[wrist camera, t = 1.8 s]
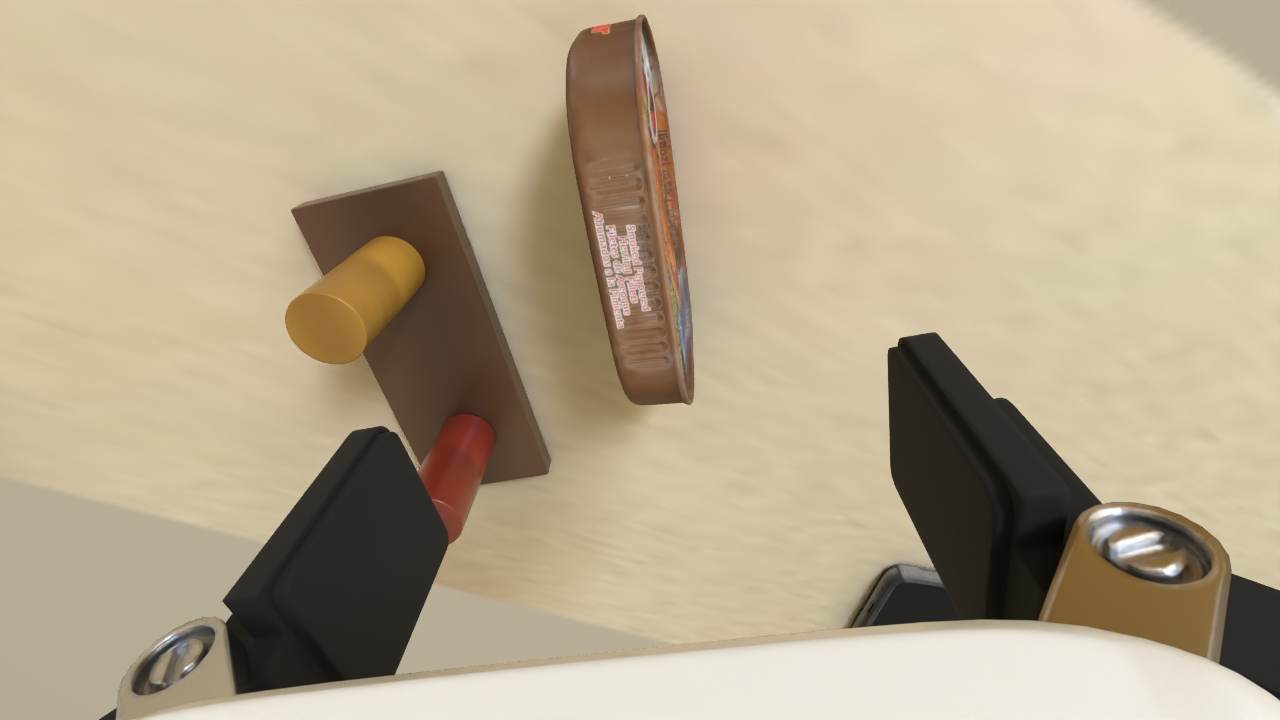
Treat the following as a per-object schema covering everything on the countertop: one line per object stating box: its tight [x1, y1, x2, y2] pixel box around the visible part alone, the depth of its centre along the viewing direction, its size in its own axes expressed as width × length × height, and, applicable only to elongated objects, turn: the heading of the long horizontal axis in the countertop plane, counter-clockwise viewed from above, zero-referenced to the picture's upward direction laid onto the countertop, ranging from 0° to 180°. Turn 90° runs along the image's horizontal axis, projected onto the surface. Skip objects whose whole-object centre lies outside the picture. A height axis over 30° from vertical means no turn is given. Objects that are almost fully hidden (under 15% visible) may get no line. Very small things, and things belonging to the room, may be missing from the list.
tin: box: [566, 15, 694, 405], centre depth 24 cm, size 15×3×8 cm, turn 9°
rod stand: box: [285, 171, 551, 544], centre depth 28 cm, size 7×17×8 cm, turn 12°
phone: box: [851, 565, 961, 628], centre depth 40 cm, size 8×1×15 cm
